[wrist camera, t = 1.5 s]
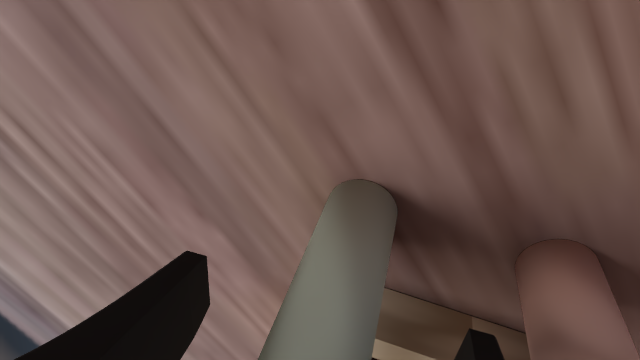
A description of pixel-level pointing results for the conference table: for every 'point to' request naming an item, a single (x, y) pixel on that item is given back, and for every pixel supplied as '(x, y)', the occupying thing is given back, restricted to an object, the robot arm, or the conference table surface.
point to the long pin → (338, 280)
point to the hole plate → (434, 331)
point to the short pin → (569, 305)
